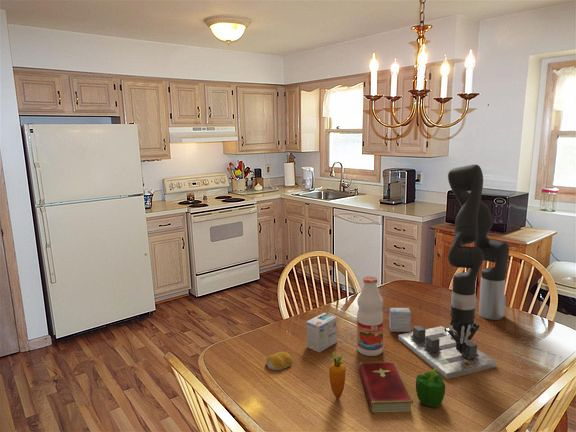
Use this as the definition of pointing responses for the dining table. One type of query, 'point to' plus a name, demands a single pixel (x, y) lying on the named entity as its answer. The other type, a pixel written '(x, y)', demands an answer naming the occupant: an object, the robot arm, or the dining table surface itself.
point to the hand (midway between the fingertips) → (460, 351)
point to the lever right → (418, 333)
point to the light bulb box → (321, 332)
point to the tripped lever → (470, 350)
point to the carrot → (337, 376)
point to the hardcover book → (385, 387)
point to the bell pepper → (430, 388)
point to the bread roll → (279, 361)
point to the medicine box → (399, 319)
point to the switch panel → (447, 355)
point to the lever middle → (432, 343)
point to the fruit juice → (370, 319)
